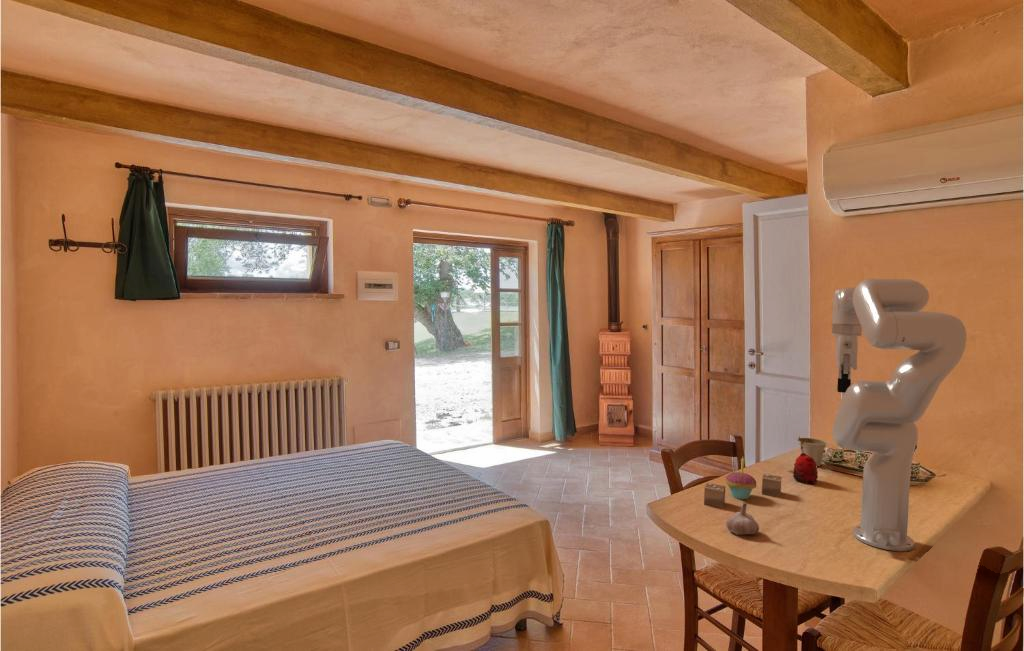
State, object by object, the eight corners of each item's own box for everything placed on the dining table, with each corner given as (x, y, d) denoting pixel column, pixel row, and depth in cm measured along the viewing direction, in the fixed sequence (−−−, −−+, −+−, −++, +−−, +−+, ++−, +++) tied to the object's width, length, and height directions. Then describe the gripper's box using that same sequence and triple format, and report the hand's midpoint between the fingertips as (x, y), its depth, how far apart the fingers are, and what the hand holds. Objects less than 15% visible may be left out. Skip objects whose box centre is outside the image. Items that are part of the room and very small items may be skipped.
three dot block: (722, 508, 153) (723, 490, 153) (704, 504, 155) (704, 487, 155) (724, 502, 157) (725, 485, 157) (706, 499, 160) (707, 482, 160)
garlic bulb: (763, 533, 137) (764, 502, 137) (751, 542, 132) (752, 510, 132) (733, 524, 143) (734, 494, 142) (721, 532, 137) (722, 501, 137)
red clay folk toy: (821, 485, 173) (824, 439, 172) (799, 485, 173) (801, 438, 173) (809, 477, 181) (811, 433, 180) (788, 477, 181) (790, 432, 180)
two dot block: (780, 497, 162) (780, 480, 162) (761, 494, 165) (762, 477, 164) (780, 492, 167) (781, 476, 166) (762, 489, 169) (763, 473, 169)
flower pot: (802, 458, 202) (803, 436, 202) (830, 465, 195) (831, 441, 195) (791, 463, 196) (792, 440, 196) (819, 470, 189) (820, 445, 188)
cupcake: (727, 489, 168) (729, 451, 168) (757, 494, 164) (759, 455, 163) (722, 498, 161) (724, 458, 160) (753, 504, 157) (755, 463, 156)
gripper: (864, 332, 151) (861, 397, 152) (859, 329, 165) (856, 389, 165) (833, 331, 155) (830, 394, 156) (830, 328, 168) (827, 387, 169)
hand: (843, 392), depth 161 cm, fingers closed
